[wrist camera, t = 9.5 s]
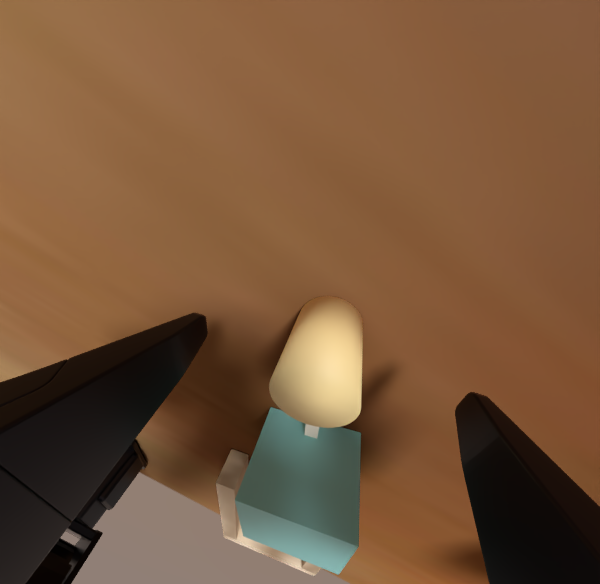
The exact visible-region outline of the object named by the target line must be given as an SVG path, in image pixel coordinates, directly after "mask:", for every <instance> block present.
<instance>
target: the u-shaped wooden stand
mask: <svg viewBox="0 0 600 584" xmlns="http://www.w3.org/2000/svg"><path fill="white" fill-rule="evenodd" d="M247 467H248V455H247V454H244V453H242V452H239V451H236V450H234V449H231V451H230V453H229V455H228V457H227V460H226V462H225V464H224V466H223V468H222V470H221V472H220V475H219V477H218V479H217V481H216V488H217V495H218V501H219V508H220V515H221V521H222V528H223V534H224V538H227V539H229V540H231V541H234V542H236V543H238V544H241V545H243V546H245V547H248V548H250V549H252V550H254V551H257V552H259V553H261V554H264V555H266V556H268V557H271V558H273V559H275V560H278V561H280V562H282V563H285V564H287V565H289V566H292V567H294V568H296V569H299V570H301V571H303V572H305V573H308V574H310V575H312V576H315V575H316V574H317V573H318V571H320V570H321V567H318V566H316V565H313V564H311V563H308V562H306V561H303V560H301V559H298V558H296V557H293V556H291V555H288V554H286V553H283V552H281V551H278V550H276V549H273V548H271V547H269V546H266V545H264V544H261V543H259V542H256V541H254V540H251V539H249V538H246V537H244V536H243V533H242V529H241V525H240V520H239V516H238V512H237V508H236V504H235V498H236V496H237V493H238V490H239V488H240V485H241V483H242V480H243V478H244V475H245V472H246V470H247Z"/></svg>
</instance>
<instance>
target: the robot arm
mask: <svg viewBox="0 0 600 584" xmlns="http://www.w3.org/2000/svg"><path fill="white" fill-rule="evenodd" d="M207 333H208V331H207V322H206V317H205V316H204V315H202V314H198V313H191V314H189V315H186V316H183V317H180V318H178V319H175V320H172V321H170V322H167V323H164V324H161V325H159V326H156V327H153V328H150V329H148V330H145V331H142V332H140V333H137V334H134V335H131V336H129V337H126V338H123V339H121V340H118V341H115V342H112V343H110V344H107V345H104V346H101V347H99V348H96V349H93V350H91V351H88V352H85V353H82V354H80V355H77V356H74V357H71V358H69V359H68V360H63V361H60V362H58V363H55V364H52V365H50V366H47V367H44V368H41V369H38V370H35V371H33V372H30V373H27V374H24V375H21V376H18V377H15V378H12V379H9V380H6V381H3V382H0V584H71V583H72V581H73V580H74V578H75V576H76V575H77V573H78V572H79V570H80V569H81V567H82V566H83V564H84V562H85V561H86V559H87V558H88V556H89V554H90V553H91V551H92V550H93V548H94V547H95V545H96V543H97V542H98V540H99V539H100V537H101V535H102V532H100V531H98V530H93V529H92V528H93V527H94V526H95V524H96V523H97V522H98V520H99V519H100V518H101V516H102V515H103V514H104V512H105V511H106V510H110V509H112V508H113V507H114V506H115V504H116V503H117V502H118V500H119V499H120V497H121V496H122V495H123V493H124V492H125V491H126V489H127V488H128V487H129V485H130V484H131V482H132V481H133V480H134V478H135V477H136V476H137V474H138V473H139V471H140V470H141V469H145V467H146V466H147V464H146V462H145V460H144V458H143V456H142V454H141V452H140V450H139V448H138V446H137V443H136V442H135V441H134V439H135V438H136V437H137V436H138V434H139V433H140V432H141V430H142V429H143V428H144V426H145V425H146V424H147V422H148V421H149V420H150V418H151V417H152V416H153V414H154V413H155V412H156V410H157V409H158V408H159V407H160V405H161V404H162V403H163V401H164V400H165V399H166V397H167V396H168V395H169V393H170V392H171V391H172V389H173V388H174V387H175V385H176V384H177V383H178V382H179V380H180V379H181V377H182V376H183V375H184V373H185V372H186V370H187V369H188V367H189V365H190V364H191V362H192V360H193V359H194V357H195V355H196V354H197V352H198V351H199V349H200V347H201V346H202V344H203V342H204V341H205V339H206V337H207ZM455 416H456V424H457V432H458V439H459V447H460V455H461V461H462V467H463V472H464V477H465V481H466V485H467V490H468V494H469V498H470V502H471V507H472V511H473V515H474V519H475V524H476V528H477V532H478V537H479V541H480V545H481V549H482V554H483V558H484V562H485V566H486V571H487V575H488V579H489V583H490V584H600V507H599V506H598V505H597V504H596V503H595V502H594V501H593V500H592V499H591V498H590V497H589V496H588V495H587V494H586V493H585V492H584V491H583V490H582V489H581V488H580V487H579V486H578V485H577V484H576V483H575V482H574V481H573V480H572V479H571V478H570V477H569V476H568V475H567V474H566V473H565V472H564V471H563V470H562V469H561V468H560V467H559V466H558V465H557V464H556V463H554V462H553V461H552V460H551V459H550V458H549V457H548V456H547V455H546V454H545V453H544V452H543V451H542V450H541V449H540V448H539V447H538V446H537V445H536V444H535V443H534V442H533V441H532V440H531V439H530V438H529V437H528V436H527V435H526V434H525V433H524V432H523V431H522V430H521V429H520V428H519V427H518V426H517V425H516V424H515V423H514V422H513V421H512V420H511V419H510V418H509V417H507V416H506V415H505V414H504V413H503V412H502V411H501V410H500V409H499V408H498V407H497V406H496V405H495V404H494V403H493V402H492V401H491V400H490V399H489V398H488V397H486V396H484V395H481V394H478V393H474V392H470V393H468V394H467V395H466V396H465V397H464V399H463V400H462V401H461V402H460V403H459V404H458V405H457V407H456V410H455ZM65 531H66V532H68V533H70V534H72V535H74V536H76V537H77V538H79V539H80V540H79V541H78V542H77V543H76V545H75V546H74V545H72V544H70V543H68V542H67V541H65V540H63V539H61V538H60V537H61V536H62V535H63V533H64V532H65Z"/></svg>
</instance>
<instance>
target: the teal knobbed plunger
mask: <svg viewBox="0 0 600 584" xmlns="http://www.w3.org/2000/svg"><path fill="white" fill-rule="evenodd" d="M362 347H363V321H362V317H361V315H360V313H359V312H358V310H357V309H356V308H355V307H354V306H353V305H352V304H350V303H349V302H347V301H345V300H343V299H341V298H338V297H333V296H321V297H317V298H314V299H312V300H310V301H308V302H307V303H306V304H305V305H304V306H303V307H302V309H301V311H300V313H299V315H298V318H297V320H296V322H295V325H294V327H293V329H292V331H291V334H290V336H289V338H288V341H287V343H286V345H285V348H284V350H283V352H282V354H281V357H280V359H279V361H278V364H277V366H276V368H275V371H274V373H273V375H272V377H271V380H270V383H269V392H270V395H271V397H272V399H273V401H274V402H275V404H276V405H277V406H278V407H279V408H280V409H281V410H279V409H275V408H272V407H271V408H270V410H269V413H268V415H267V418H266V421H265V423H264V426H263V428H262V431H261V434H260V436H259V439H258V441H257V444H256V446H255V449H254V452H253V454H252V457H251V459H250V462H249V465H248V467H247V470H246V472H245V475H244V478H243V480H242V483H241V485H240V488H239V490H238V493H237V496H236V498H235V504H236V508H237V512H238V516H239V520H240V525H241V529H242V533H243V536H244V537H246V538H249V539H251V540H254V541H256V542H259V543H261V544H264V545H266V546H269V547H271V548H273V549H276V550H278V551H281V552H283V553H286V554H288V555H291V556H293V557H296V558H298V559H301V560H303V561H306V562H308V563H311V564H313V565H316V566H318V567H321V568H323V569H326V570H328V571H331V572H333V573H336V574H338V575H339V573H340V572H341V571H342V569H343V568H344V566H345V565H346V564H347V562H348V561H349V559H350V558H351V557H352V555H353V554H354V552H355V551H356V550H357V548H358V547H359V502H360V453H361V433H360V432H356V431H353V430H349V429H346V428H342V427H341V426H345V425H347V424H350V423H351V422H353V421H354V420H355V419H356V418H357V417H358V416H359V414H360V411H361V393H362Z"/></svg>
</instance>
